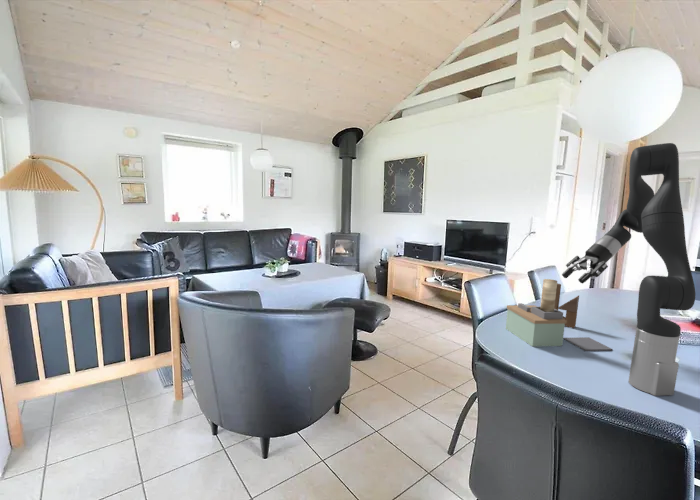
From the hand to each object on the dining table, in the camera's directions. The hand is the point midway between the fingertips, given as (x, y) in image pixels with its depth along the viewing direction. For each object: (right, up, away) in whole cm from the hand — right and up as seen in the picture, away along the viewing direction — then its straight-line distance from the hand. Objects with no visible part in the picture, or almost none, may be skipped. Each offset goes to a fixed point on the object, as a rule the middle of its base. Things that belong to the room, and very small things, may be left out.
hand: (571, 279), depth 130 cm
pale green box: (-12, -24, +6) cm, 27 cm away
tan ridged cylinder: (-9, -14, +1) cm, 17 cm away
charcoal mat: (+6, -25, 0) cm, 26 cm away
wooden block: (+10, -22, +22) cm, 33 cm away
